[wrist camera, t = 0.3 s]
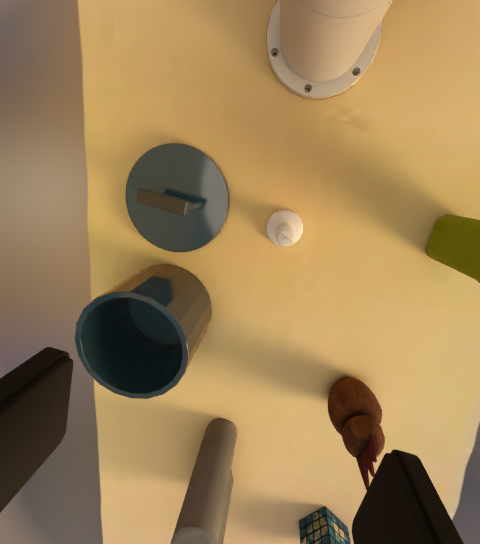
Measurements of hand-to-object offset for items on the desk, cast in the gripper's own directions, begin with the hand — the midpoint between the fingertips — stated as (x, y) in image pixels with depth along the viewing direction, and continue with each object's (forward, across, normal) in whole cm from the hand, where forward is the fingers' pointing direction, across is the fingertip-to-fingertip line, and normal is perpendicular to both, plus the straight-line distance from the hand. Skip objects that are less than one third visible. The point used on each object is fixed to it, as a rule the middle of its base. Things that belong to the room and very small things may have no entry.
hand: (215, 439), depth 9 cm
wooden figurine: (+36, -18, +19) cm, 44 cm away
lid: (+35, +13, -2) cm, 37 cm away
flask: (+36, -2, +38) cm, 52 cm away
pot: (+36, +12, +14) cm, 40 cm away
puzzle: (+36, -23, +46) cm, 63 cm away
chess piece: (+36, -2, -2) cm, 36 cm away
